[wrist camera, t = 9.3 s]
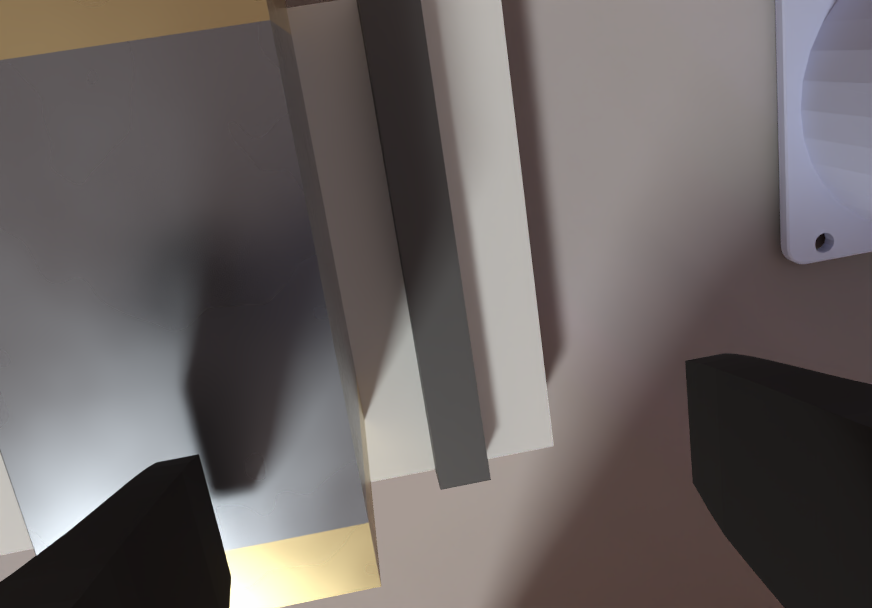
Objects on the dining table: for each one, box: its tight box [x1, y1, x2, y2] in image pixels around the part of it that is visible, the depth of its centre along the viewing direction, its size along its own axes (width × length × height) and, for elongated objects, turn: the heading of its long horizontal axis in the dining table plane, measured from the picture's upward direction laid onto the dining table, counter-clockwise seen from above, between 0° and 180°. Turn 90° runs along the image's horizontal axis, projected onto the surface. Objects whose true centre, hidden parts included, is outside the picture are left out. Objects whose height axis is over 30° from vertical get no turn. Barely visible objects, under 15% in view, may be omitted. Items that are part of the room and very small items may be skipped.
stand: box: [0, 0, 554, 555], centre depth 19 cm, size 14×11×3 cm
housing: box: [0, 0, 381, 608], centre depth 15 cm, size 10×5×6 cm, turn 8°
